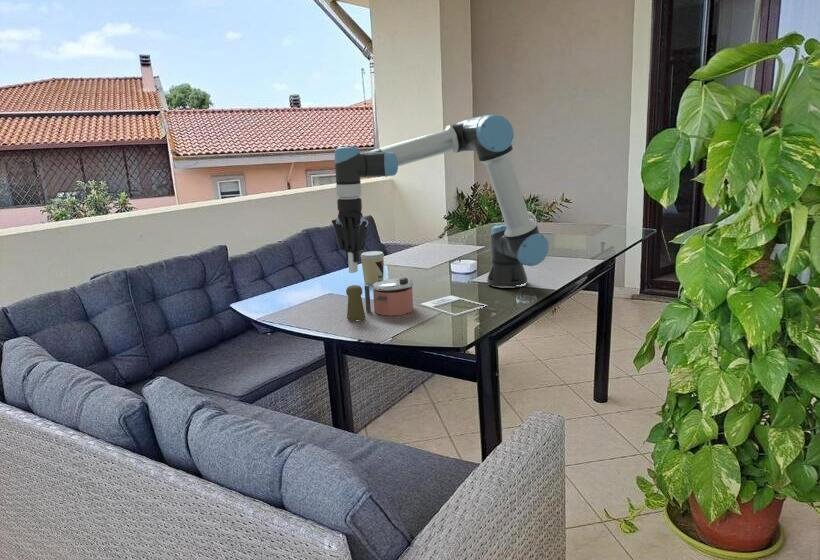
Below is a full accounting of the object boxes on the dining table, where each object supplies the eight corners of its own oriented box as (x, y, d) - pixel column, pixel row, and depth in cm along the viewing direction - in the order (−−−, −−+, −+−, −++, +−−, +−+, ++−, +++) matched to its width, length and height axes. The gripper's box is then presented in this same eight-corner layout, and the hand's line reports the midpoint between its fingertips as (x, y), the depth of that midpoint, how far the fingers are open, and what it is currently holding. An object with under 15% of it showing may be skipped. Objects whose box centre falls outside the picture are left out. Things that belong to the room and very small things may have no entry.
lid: (420, 281, 194) (419, 274, 193) (401, 291, 182) (400, 283, 182) (386, 280, 200) (385, 273, 200) (365, 290, 189) (364, 283, 188)
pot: (421, 305, 197) (420, 279, 195) (399, 318, 184) (397, 291, 181) (385, 301, 204) (384, 276, 202) (361, 314, 190) (359, 288, 188)
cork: (347, 316, 189) (344, 284, 186) (365, 315, 189) (363, 283, 187) (346, 322, 183) (344, 288, 180) (365, 320, 183) (363, 287, 181)
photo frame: (451, 294, 206) (487, 304, 192) (451, 297, 206) (487, 307, 192) (419, 303, 197) (455, 314, 183) (419, 306, 198) (455, 317, 184)
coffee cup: (382, 285, 227) (380, 255, 224) (359, 285, 229) (357, 255, 226) (387, 279, 236) (386, 250, 233) (366, 279, 238) (364, 250, 235)
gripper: (373, 196, 177) (377, 271, 183) (338, 196, 184) (343, 268, 189) (360, 199, 171) (364, 276, 177) (324, 198, 177) (329, 272, 183)
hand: (353, 271), depth 183 cm, fingers closed
